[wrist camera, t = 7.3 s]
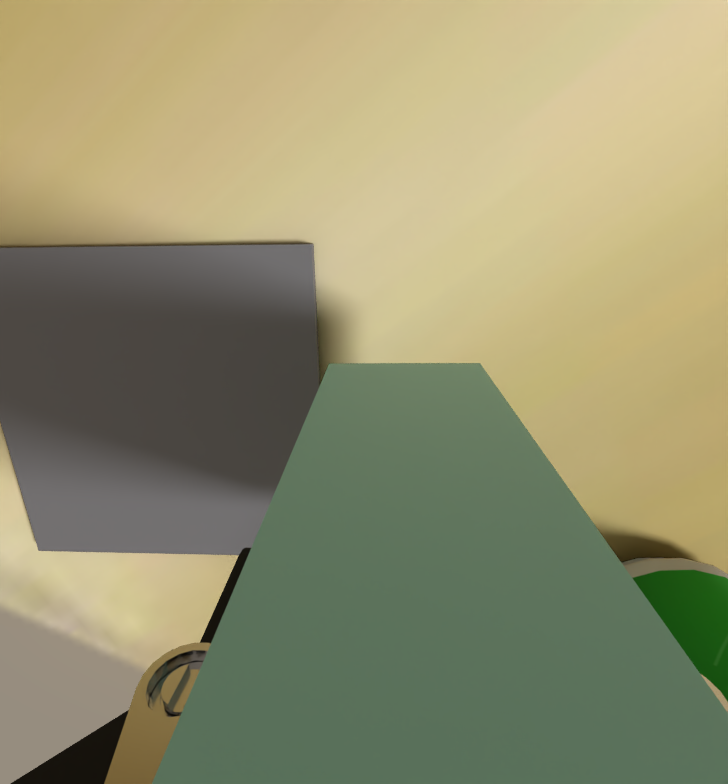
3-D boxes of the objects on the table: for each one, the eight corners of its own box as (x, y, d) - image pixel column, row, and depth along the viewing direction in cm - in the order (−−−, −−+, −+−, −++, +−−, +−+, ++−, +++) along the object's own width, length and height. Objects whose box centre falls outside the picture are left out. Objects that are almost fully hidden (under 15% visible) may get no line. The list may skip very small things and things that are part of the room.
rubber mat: (-41, 247, 16) (-52, 248, 16) (313, 243, 15) (311, 244, 15) (45, 544, 20) (38, 550, 20) (327, 550, 19) (326, 557, 19)
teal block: (328, 363, 13) (-159, 1519, 1) (479, 363, 12) (1429, 1699, 1) (337, 577, 15) (184, 1681, 4) (464, 579, 15) (731, 1750, 3)
